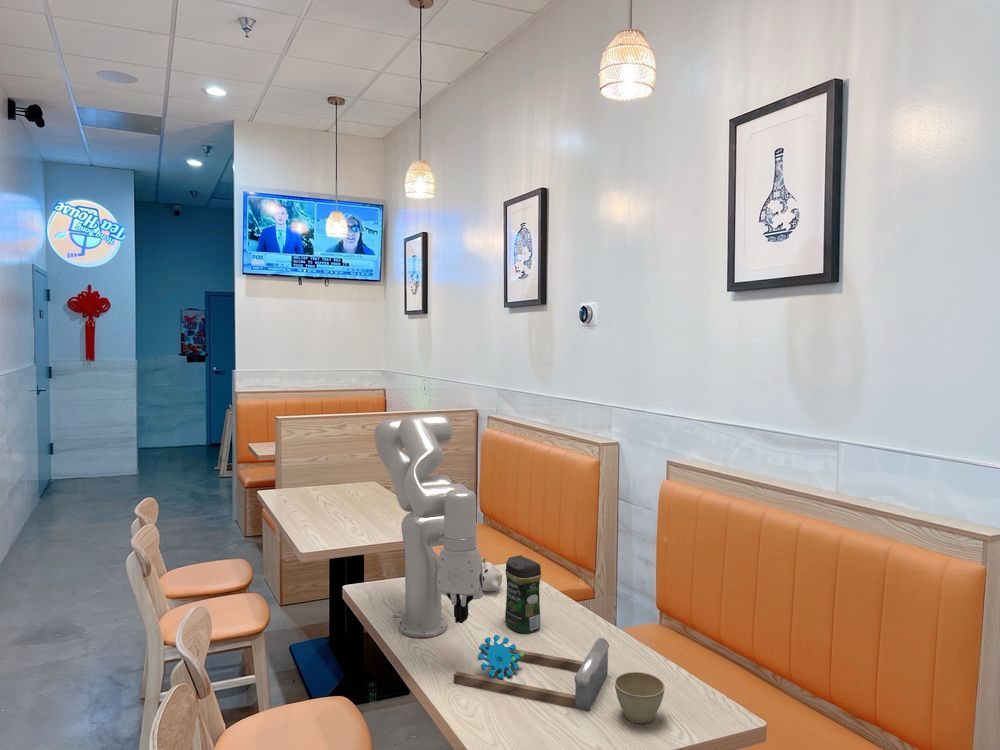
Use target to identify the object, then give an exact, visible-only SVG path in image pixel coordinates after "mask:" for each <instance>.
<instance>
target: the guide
mask: <svg viewBox="0 0 1000 750" xmlns="http://www.w3.org/2000/svg"><path fill="white" fill-rule="evenodd" d="M483 644H484V645H485V649H486V650H488V645H487V644H486V643H483ZM509 652H511V653H513V654H519V653H520V652H523V653H524V655H523V657H522V658H521V659H520V658H519V661H518V662H522V663H526V664H532V665H538V666H543V667H548V668H554V669H558V668H559V670H564V671H568V672H575V673H577V672H578V670H579V669H580V667H581V665H582V664H583V662H584V661H581V660H576V659H571V658H565V657H559V656H554V655H549V654H548V655H547V654H543V653H537V652H533V651H527V650H521V649H517V648H516V649H515V650H514V651H512V650H510V649H509ZM480 653H482V654H483V655H484V656H486V654H485V653H484V652H483V651H481V650H480ZM453 683H454V684H457V685H461V686H467V687H471V688H477V689H481V690H486V691H491V692H494V693H499V694H506V695H509V696H516V697H520V698H524V699H528V700H529V699H530V700H532V701H533V700H535V701H539V702H544V703H548V704H552V705H558V706H564V707H568V708H573V709H576V708H575V694H572V693H567V692H562V691H557V690H551V689H547V688H541V687H536V686H532V685H527V684H523V683H522V684H521V683H516V682H511V681H506V680H503V679H502V680H501V679H498V678H493V677H492V678H491V677H487V676H481V675H477V674H471V673H468V672H467V673H466V672H462V671H456V672H455V673H453Z"/></svg>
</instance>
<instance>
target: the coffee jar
mask: <svg viewBox="0 0 1000 750" xmlns="http://www.w3.org/2000/svg"><path fill="white" fill-rule="evenodd" d="M505 563H506V565H505V576H506V577H505V578H506V595H505V596H506V601H505V613H504V614H505V616H504V617H505V619H504V623H505V624H506V626H508V627H509V628H510V629H512V630H513V631H515V632H517V633H520V634H521V633H522V634H524V633H529V634H530V633H534V632H536V631H537V630H539V629H540V628H541V604H540V585H541V584H540V583H541V582H540V581H541V579H542V569H541V564H540V563H539V562H537V561H535V560H532V559H530V558H528V557H525V556H523V555H522V554H520V555H513V556H510V557H508V559H507V561H506V562H505Z"/></svg>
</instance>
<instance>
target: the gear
mask: <svg viewBox="0 0 1000 750" xmlns="http://www.w3.org/2000/svg"><path fill="white" fill-rule="evenodd" d="M500 639H501V636H500V635H498V634H495V635H494V636H493V644H491V641H492V637H490V636H489V637H486V638H485V639H484V642H485V643H481V644H480V645H479V646H478V650H480V652H479V654H478V655H477V660H478V661H486V662H487V663H488V664H487V663H485V662H482V663H481V665H480V667H481V670H482V671H485V670H487V668H493V669H492V670H489V672H488V673H487V675H488V676H489V678H492V679H493V677H494V676H495V674H496V672H497V671H500V673H499V674H498V675H497V680H502V681H503V680H504V678H505V674H504V670H505V669H506V670H507V671H506V677H507V678H511V677H512V676H513V675H514V672H513V671H512V669H513V670H514V671H516V670H517V669H518V668H519V666H520V665H519V664H518V662H520V661H519V658H520V659H521V658H522V657H523V655H524V653H523V652H520V653H519V654H513V653H511V652H509V649H510V650H512V651H514V650H515V649H516V650H517V646H516V644H515V643H512V644H511V645H509V646H505V645H507V644H508V643H509V642H510V639H509V638H508V637H506V636H505V637H504V638H503V639H502V642H500V643H498V641H499V640H500ZM484 644H487V645H488V650H486V649H485V645H484ZM481 651H483V652H484V653H485V654H486V655H483V654H482V653H481ZM511 666H512V668H511Z"/></svg>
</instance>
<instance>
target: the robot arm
mask: <svg viewBox="0 0 1000 750" xmlns="http://www.w3.org/2000/svg"><path fill="white" fill-rule="evenodd" d="M453 430H454V429H453V424H452V423H451V420H450V419H449V418H448V416H446V415H445V414H442V413H429V414H428V413H427V414H412V415H408V416H405V417H394V418H388V419H385V420H382V421H380V422H378V424H377V425H375V429H374V437H373V438H374V445H375V449H376V453H377V454H378V456H379V459H380V461H381V462H382V464H383V465H384V467H385V468H386V471H388V473H389V476H390V480H391V482H392V486H393V490H394V494H395V496H396V500H397V502H398V505H399V507H400V508H401V509H402V511H404V512H406V513H407V514H406V515H405V516H404V517H403V518H402V521H401V526H400V527H401V528H400V529H401V535H402V542H403V549H404V571H405V572H404V573H405V574H404V575H405V576H404V578H405V579H404V581H405V583H404V592H405V593H404V594H405V595H404V596H405V598H404V599H405V600H404V602H405V603H404V604H405V605H404V608H402V607H397V606H395V607H394V608H393V614H392V618H393V619H394V618H395V619H400V620H401V622H399V625H398V626H399V632H400V633H401V632H402V633H401V634H403V633H404V634H405V636H407V635H408V636H407V637H410V636H411V637H410V638H416V637H426V638H431V637H432V636H433V637H436V636H439V635H442V634H443V633H444V632H445V631H446V630H447V629H448V622H447V620H446V619H445V618H443V617H442V596H445V597H447V598H448V600H450V602H451V604H452V606H453V617H454V623H456V624H457V623H459V624H463V623H465V621H467V620H468V618H469V604H470V603H471V601H473V600H474V601H475V600H480V599H482V598H483V596H484V593H483V590H482V588H483V571H482V562H481V558H482V557H481V552H480V549H479V548H477V542H478V541H477V495H476V493H475V492H474V491H473V490H470V489H468V488H467V487H466V486H465V485H464V484H462V483H454V482H453V481H452V479H451V478H450V477H449V476H447V475H444V474H432V473H433V472H435V471H436V470H437V469H438V468H439V467H441V465H442V464H443V462H444V459H445V454H444V450H443V449H442V447H441V446H443V445H447V444H449V443H450V442H451V440H452V438H453V435H454V434H453V433H454V431H453ZM403 448H404V449H405V450H404V449H403ZM430 474H431V475H430ZM440 545H443V547H442V548H441V549H440V551H439V555H438V554H437V553H436V552H435V550H433V547H436V546H440ZM404 634H403V635H404Z"/></svg>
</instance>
